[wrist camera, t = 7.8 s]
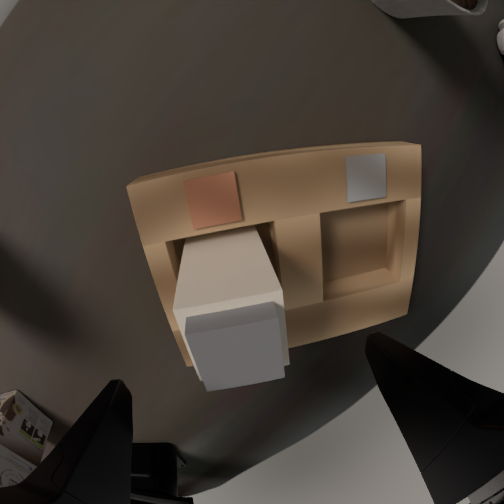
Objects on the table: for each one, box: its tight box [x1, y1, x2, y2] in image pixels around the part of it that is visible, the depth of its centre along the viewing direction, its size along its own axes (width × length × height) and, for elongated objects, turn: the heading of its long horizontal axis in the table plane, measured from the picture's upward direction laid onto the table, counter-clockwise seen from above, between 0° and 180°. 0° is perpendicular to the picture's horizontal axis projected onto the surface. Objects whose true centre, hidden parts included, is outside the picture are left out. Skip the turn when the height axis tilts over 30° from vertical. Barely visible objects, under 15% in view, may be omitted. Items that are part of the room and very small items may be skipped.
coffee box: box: [0, 390, 53, 487], centre depth 15 cm, size 9×6×16 cm
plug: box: [173, 225, 290, 391], centre depth 14 cm, size 4×4×8 cm
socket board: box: [126, 141, 421, 367], centre depth 17 cm, size 12×16×3 cm
